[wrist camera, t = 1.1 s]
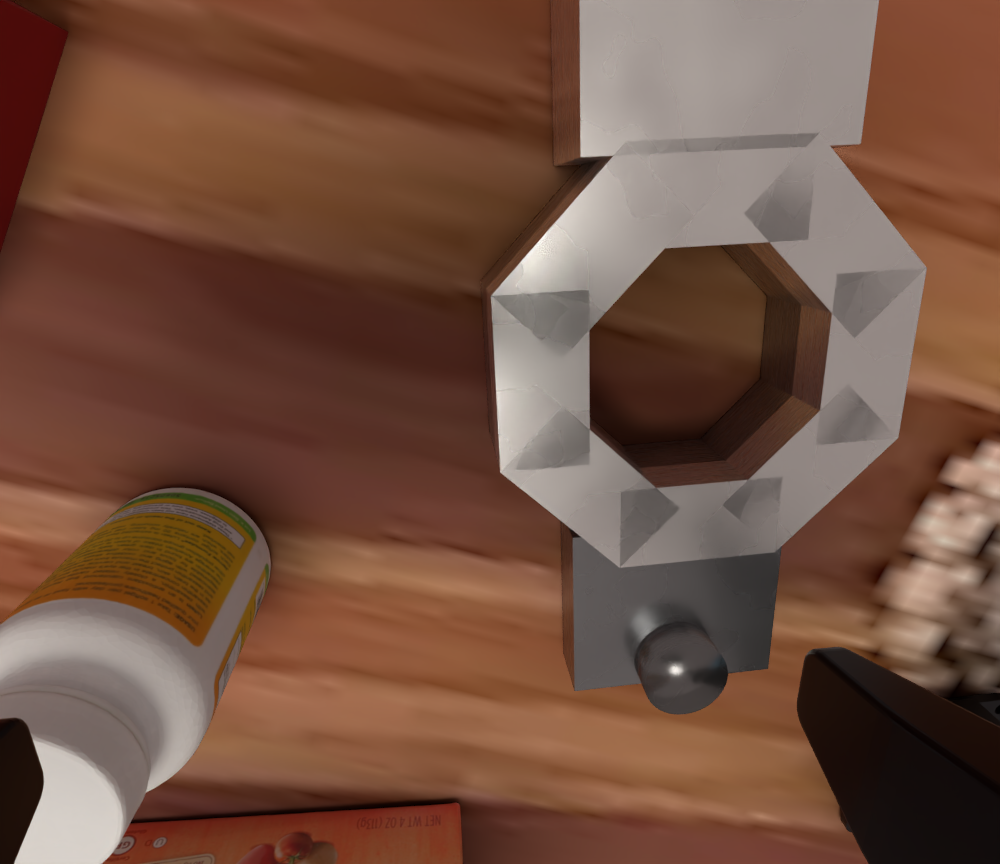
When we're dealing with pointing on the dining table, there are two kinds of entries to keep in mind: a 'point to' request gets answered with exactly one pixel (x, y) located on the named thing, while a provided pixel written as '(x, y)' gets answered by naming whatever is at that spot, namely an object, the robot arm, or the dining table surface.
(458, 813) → the cracker box
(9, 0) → the mechanical linkage
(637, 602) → the chain end lower
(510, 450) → the chain end upper
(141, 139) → the dining table surface
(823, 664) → the robot arm
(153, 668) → the supplement bottle
